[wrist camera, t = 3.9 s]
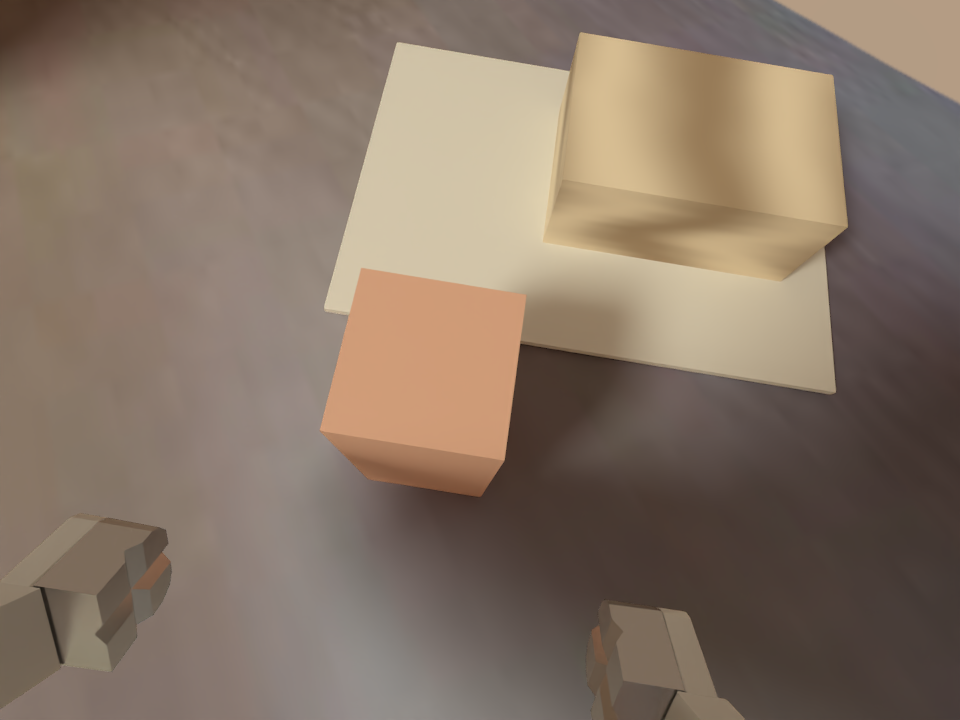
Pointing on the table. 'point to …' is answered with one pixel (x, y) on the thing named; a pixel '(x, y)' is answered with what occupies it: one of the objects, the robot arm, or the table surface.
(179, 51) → the table surface
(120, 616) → the robot arm
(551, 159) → the mat
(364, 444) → the pillar
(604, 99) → the plinth
